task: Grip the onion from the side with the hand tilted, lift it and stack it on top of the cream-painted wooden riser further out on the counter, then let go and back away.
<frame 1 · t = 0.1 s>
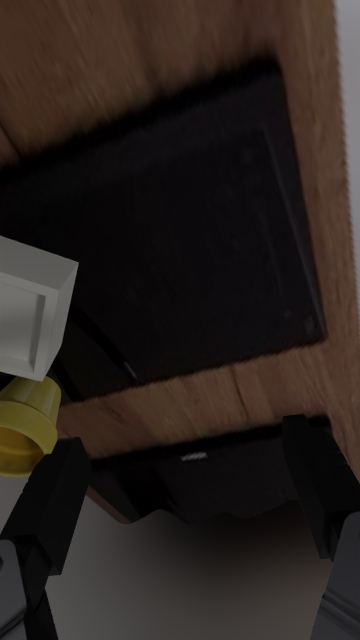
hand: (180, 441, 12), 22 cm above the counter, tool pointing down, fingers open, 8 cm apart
plant pot: (36, 387, 42), on the counter
riser: (15, 290, 34), on the counter
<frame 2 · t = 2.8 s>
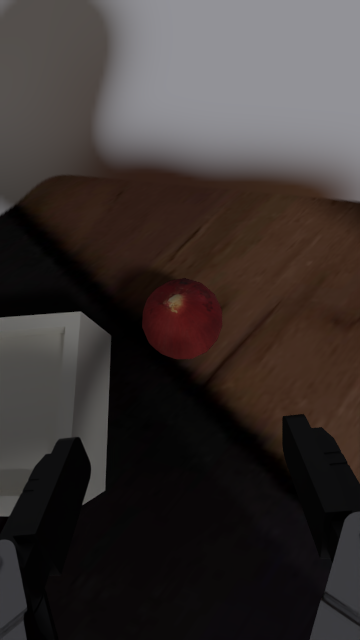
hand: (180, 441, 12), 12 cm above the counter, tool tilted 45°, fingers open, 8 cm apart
riser: (40, 410, 25), on the counter
onion: (187, 333, 26), on the counter
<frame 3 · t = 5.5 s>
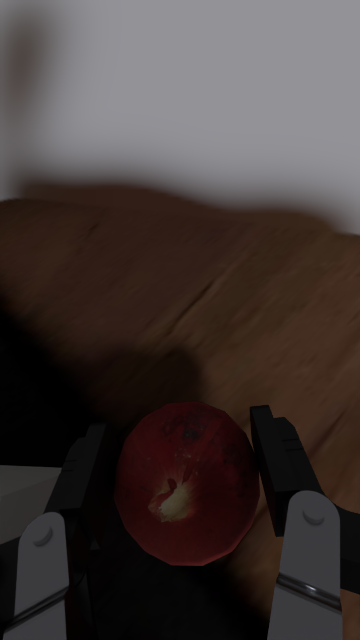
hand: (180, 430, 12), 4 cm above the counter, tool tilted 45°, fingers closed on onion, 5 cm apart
onion: (193, 462, 16), on the counter, touching gripper
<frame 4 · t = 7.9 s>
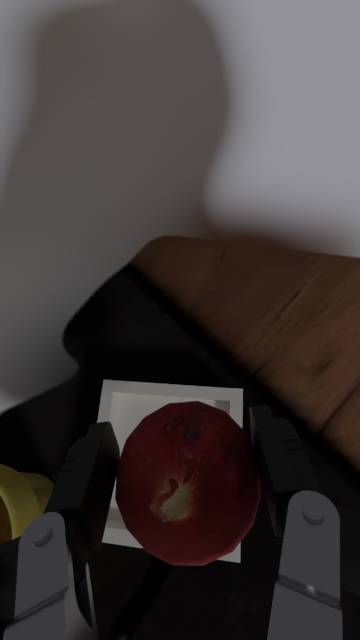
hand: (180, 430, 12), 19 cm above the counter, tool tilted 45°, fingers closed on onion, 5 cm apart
plant pot: (31, 507, 30), on the counter
riser: (176, 451, 30), on the counter
onion: (194, 462, 16), point 14 cm above the counter, touching gripper
when the fingers open (11 cm above the counter, at t = 10.5 s): onion drops 2 cm, resting on riser.
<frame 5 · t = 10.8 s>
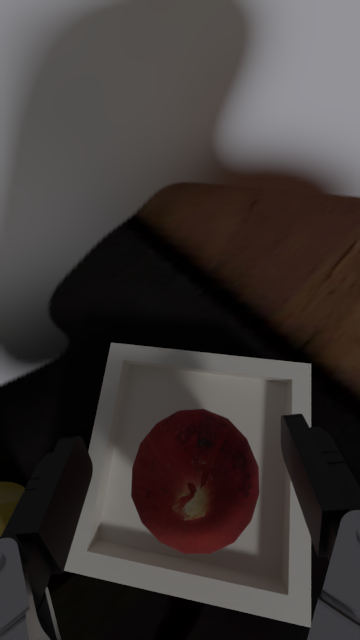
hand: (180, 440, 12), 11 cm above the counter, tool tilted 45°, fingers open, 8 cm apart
plant pot: (2, 529, 22), on the counter
riser: (200, 450, 22), on the counter, touching onion
onion: (194, 460, 18), point 4 cm above the counter, touching riser
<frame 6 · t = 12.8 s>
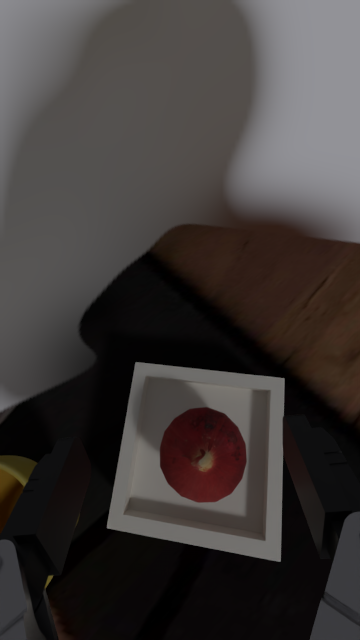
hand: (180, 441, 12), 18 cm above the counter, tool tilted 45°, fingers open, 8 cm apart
plant pot: (47, 506, 28), on the counter
riser: (202, 443, 28), on the counter, touching onion
onion: (200, 448, 24), point 4 cm above the counter, touching riser
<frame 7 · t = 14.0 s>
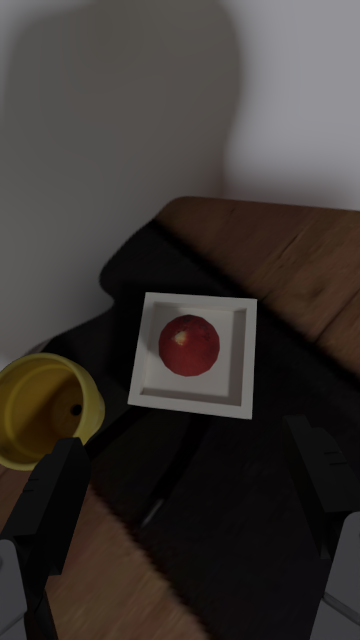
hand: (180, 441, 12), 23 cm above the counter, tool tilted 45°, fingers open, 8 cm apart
plant pot: (79, 410, 36), on the counter
riser: (198, 361, 37), on the counter, touching onion
onion: (196, 353, 32), point 4 cm above the counter, touching riser
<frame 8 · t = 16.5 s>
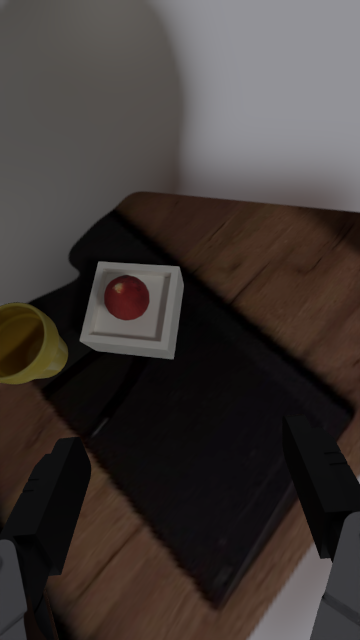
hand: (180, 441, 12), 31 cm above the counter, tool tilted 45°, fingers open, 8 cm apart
plant pot: (48, 355, 47), on the counter
riser: (141, 318, 47), on the counter, touching onion
onion: (134, 308, 43), point 4 cm above the counter, touching riser
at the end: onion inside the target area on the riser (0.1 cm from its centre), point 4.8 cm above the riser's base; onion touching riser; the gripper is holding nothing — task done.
